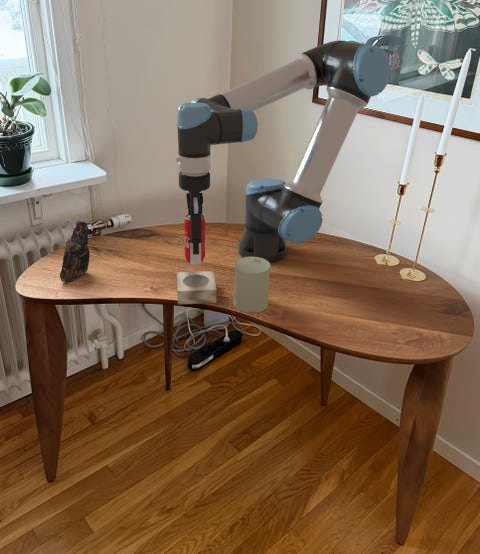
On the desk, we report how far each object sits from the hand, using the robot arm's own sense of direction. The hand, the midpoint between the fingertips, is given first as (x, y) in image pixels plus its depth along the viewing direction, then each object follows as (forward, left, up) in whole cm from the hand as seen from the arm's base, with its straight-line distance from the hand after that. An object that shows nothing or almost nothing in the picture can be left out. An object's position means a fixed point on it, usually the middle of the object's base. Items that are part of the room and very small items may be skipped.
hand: (195, 258), depth 135 cm
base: (0, 0, -11) cm, 11 cm away
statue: (+33, -13, -11) cm, 37 cm away
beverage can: (0, 0, 0) cm, 0 cm away
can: (-14, +6, -11) cm, 19 cm away
